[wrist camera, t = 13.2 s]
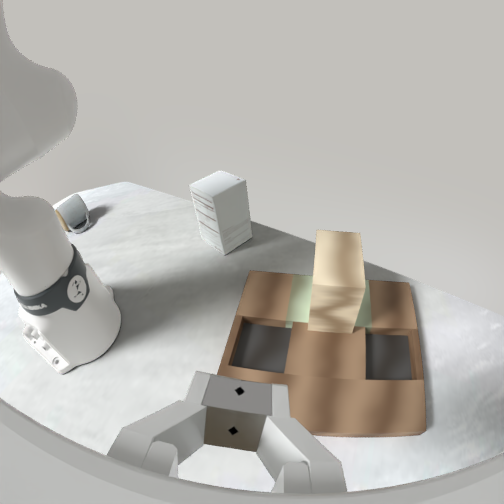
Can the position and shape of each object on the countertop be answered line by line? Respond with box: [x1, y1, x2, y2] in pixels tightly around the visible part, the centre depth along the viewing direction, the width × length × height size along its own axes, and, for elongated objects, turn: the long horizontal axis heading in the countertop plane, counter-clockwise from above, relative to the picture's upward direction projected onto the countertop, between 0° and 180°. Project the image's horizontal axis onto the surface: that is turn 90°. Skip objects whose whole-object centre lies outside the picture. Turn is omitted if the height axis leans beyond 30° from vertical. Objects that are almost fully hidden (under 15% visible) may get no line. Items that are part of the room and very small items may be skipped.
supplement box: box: [189, 170, 252, 255], centre depth 53 cm, size 7×7×13 cm
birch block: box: [308, 230, 366, 334], centre depth 37 cm, size 6×10×9 cm, turn 168°
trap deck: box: [217, 270, 426, 437], centre depth 36 cm, size 26×24×2 cm
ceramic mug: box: [55, 194, 90, 233], centre depth 65 cm, size 11×8×8 cm
